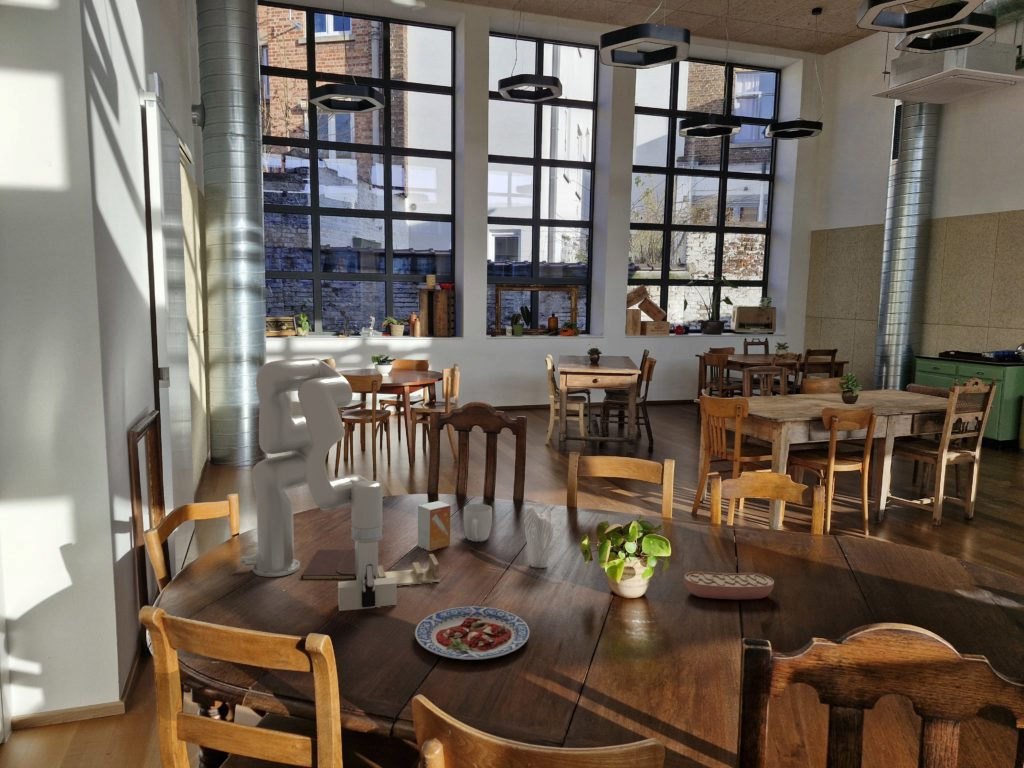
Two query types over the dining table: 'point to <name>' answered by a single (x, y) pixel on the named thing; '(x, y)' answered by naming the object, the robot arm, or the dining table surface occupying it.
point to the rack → (414, 573)
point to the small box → (434, 525)
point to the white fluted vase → (538, 536)
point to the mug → (477, 521)
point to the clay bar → (353, 593)
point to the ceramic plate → (472, 632)
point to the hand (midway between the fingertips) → (367, 601)
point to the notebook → (331, 565)
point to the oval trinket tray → (729, 585)
